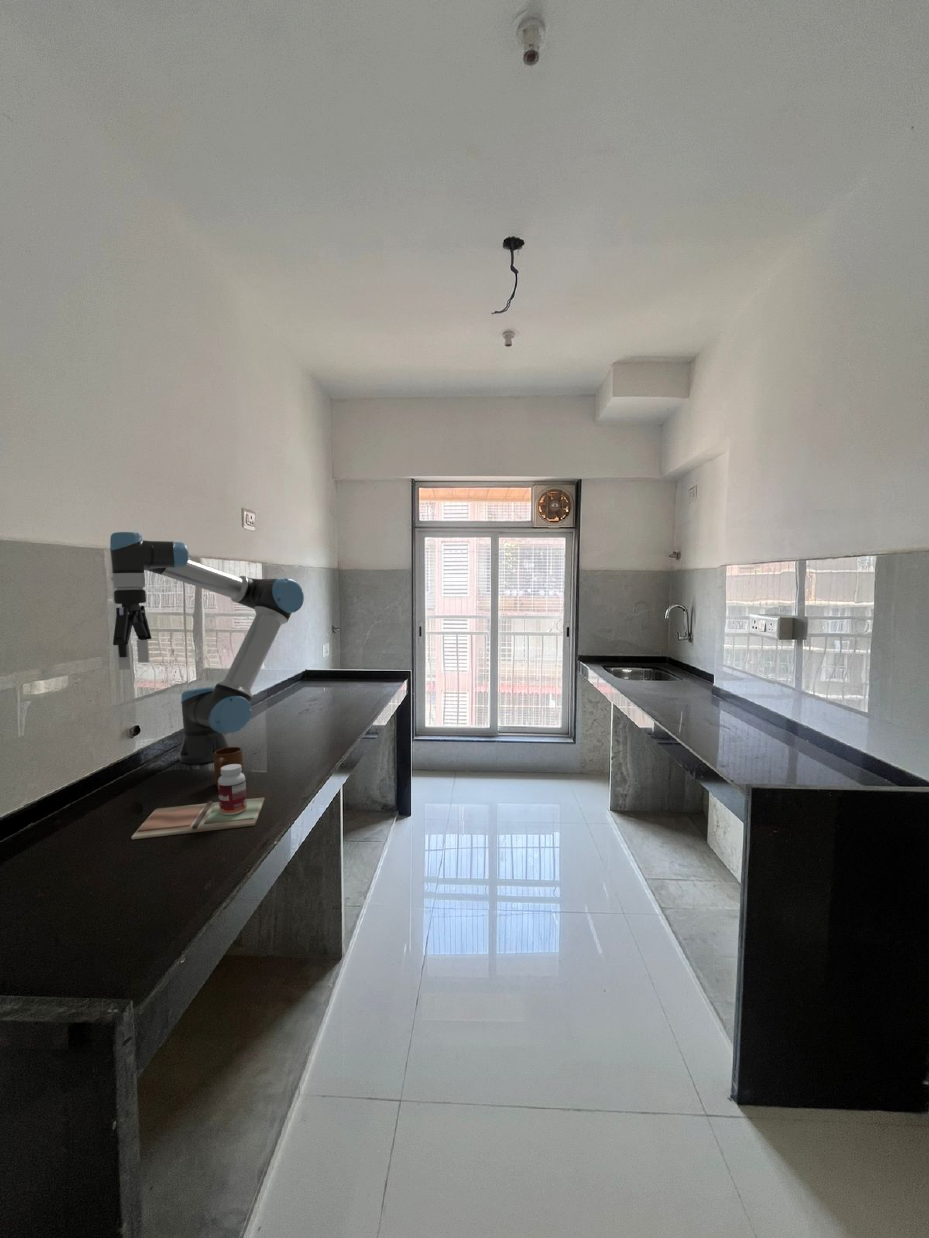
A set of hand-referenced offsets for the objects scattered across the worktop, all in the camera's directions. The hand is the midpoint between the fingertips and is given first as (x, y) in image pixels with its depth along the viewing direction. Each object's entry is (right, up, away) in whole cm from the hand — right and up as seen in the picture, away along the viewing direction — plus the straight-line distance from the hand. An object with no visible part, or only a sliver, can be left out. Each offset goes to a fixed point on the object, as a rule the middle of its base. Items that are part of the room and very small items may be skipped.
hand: (135, 665), depth 154 cm
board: (+28, -35, -20) cm, 49 cm away
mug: (+25, -34, +2) cm, 42 cm away
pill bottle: (+35, -34, -18) cm, 52 cm away
